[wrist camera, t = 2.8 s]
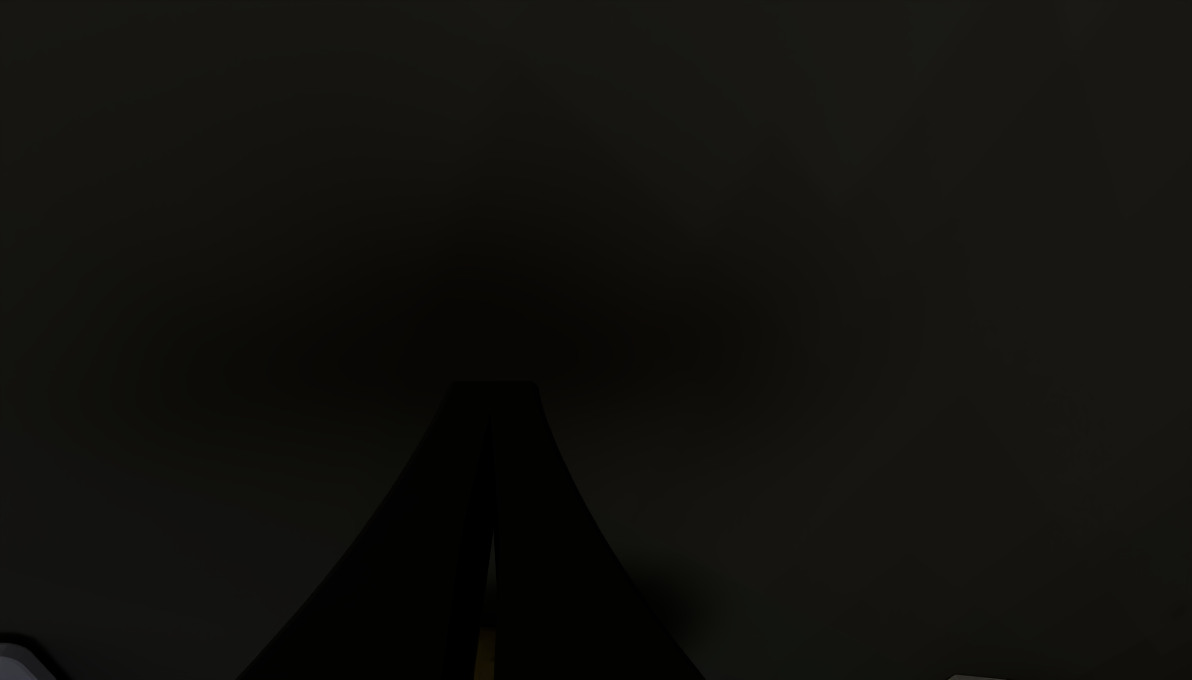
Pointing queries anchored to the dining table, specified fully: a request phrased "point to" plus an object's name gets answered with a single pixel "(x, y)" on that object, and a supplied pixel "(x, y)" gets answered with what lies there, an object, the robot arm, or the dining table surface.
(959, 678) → the headphone stand
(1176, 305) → the dining table surface
